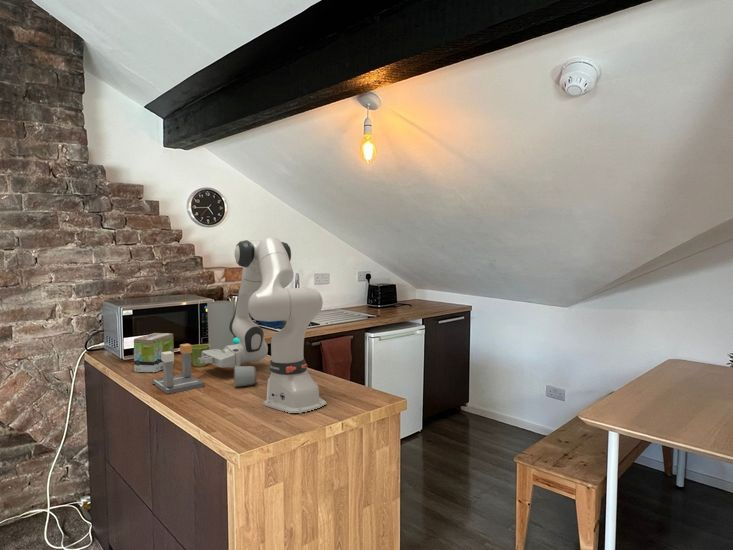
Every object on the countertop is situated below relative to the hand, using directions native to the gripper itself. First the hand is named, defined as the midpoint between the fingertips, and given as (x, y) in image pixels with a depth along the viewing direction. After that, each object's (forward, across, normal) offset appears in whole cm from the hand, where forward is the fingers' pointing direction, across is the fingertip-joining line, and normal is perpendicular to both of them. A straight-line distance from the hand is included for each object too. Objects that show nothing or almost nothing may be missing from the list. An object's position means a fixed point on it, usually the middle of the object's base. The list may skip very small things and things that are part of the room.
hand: (198, 361), depth 195 cm
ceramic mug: (-10, +21, +7) cm, 24 cm away
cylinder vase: (-27, -40, +7) cm, 49 cm away
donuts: (-29, -19, +7) cm, 35 cm away
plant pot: (-8, -20, +7) cm, 23 cm away
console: (+10, +4, +7) cm, 13 cm away
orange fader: (+5, 0, +5) cm, 7 cm away
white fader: (+15, +9, +5) cm, 18 cm away
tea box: (+9, -28, +7) cm, 30 cm away
